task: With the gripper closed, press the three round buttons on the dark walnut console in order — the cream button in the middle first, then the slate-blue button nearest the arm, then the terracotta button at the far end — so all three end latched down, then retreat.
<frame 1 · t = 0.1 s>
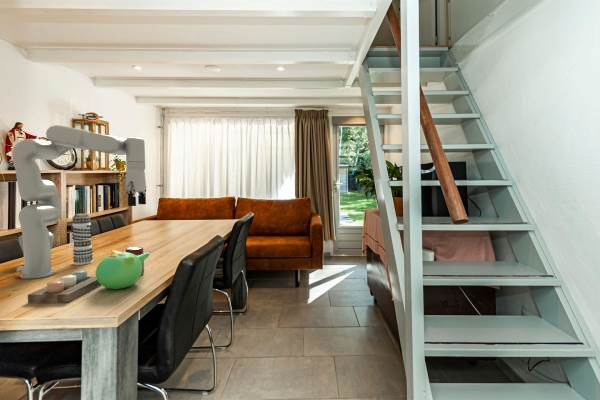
hand: (137, 205, 154), 31 cm above the table, tool pointing down, fingers open, 9 cm apart
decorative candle: (83, 263, 178), on the table
console: (69, 292, 132), on the table
slate-blue button: (79, 276, 138), point 4 cm above the table, slide at 0.0 cm
terracotta button: (55, 288, 125), point 4 cm above the table, slide at 0.0 cm
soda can: (135, 275, 156), on the table
cream button: (68, 282, 132), point 4 cm above the table, slide at 0.0 cm
vase: (38, 263, 178), on the table
gravy boat: (122, 287, 138), on the table
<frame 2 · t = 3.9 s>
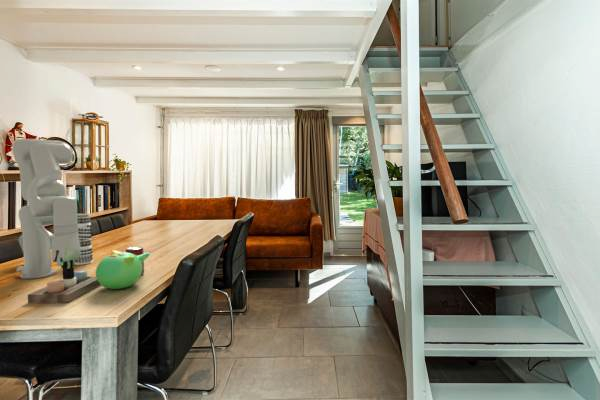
hand: (68, 278, 131), 5 cm above the table, tool pointing down, fingers closed
cream button: (68, 283, 132), point 3 cm above the table, slide at 0.6 cm, touching gripper
everything else where it was.
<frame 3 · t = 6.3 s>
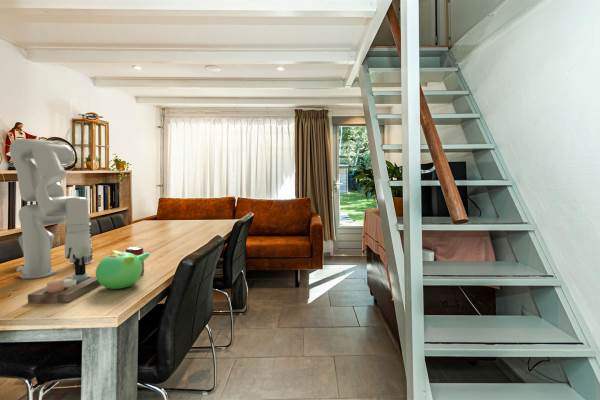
hand: (80, 274, 138), 5 cm above the table, tool pointing down, fingers closed
slate-blue button: (80, 279, 139), point 3 cm above the table, slide at 1.0 cm
cream button: (68, 285, 132), point 3 cm above the table, slide at 1.4 cm
everything else where it was.
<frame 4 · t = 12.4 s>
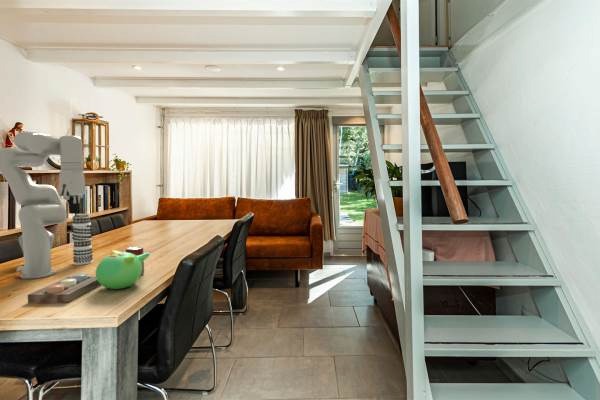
hand: (74, 213, 140), 29 cm above the table, tool pointing down, fingers closed
slate-blue button: (80, 280, 139), point 3 cm above the table, slide at 1.4 cm
terracotta button: (55, 291, 125), point 3 cm above the table, slide at 1.4 cm
everything else where it was.
at the end: cream button slide at 1.4 cm; slate-blue button slide at 1.4 cm; terracotta button slide at 1.4 cm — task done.
